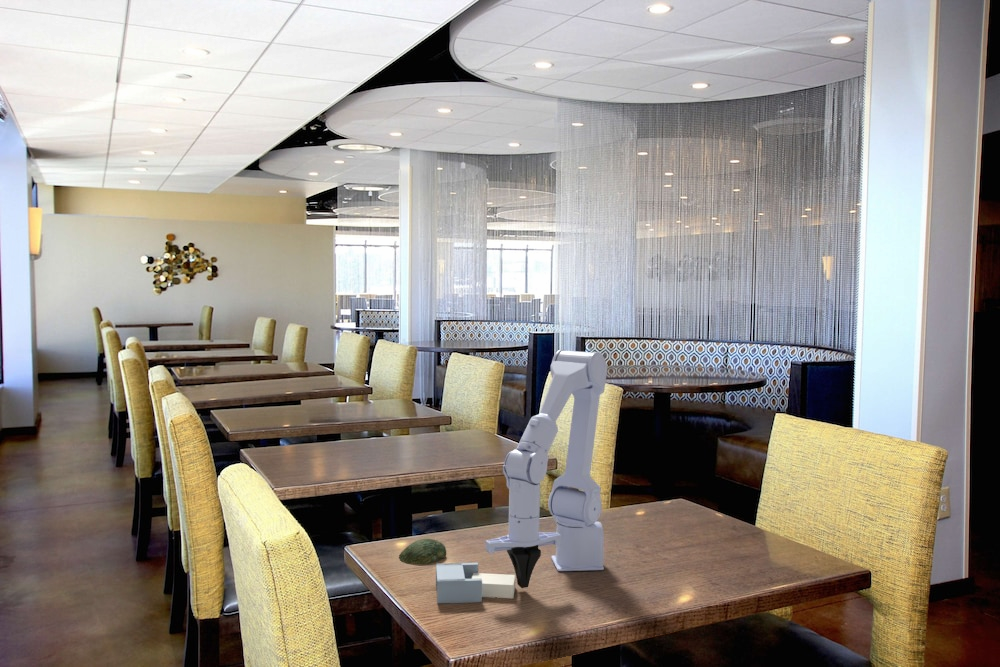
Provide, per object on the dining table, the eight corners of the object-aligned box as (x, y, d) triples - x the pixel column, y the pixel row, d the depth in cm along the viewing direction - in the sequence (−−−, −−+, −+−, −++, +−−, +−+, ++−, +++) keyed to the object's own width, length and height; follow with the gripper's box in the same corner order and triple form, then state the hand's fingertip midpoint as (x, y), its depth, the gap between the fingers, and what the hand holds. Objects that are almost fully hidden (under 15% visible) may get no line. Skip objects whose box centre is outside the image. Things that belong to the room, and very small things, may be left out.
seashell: (407, 529, 169) (451, 533, 166) (407, 546, 169) (452, 551, 167) (391, 547, 159) (438, 552, 157) (391, 566, 159) (438, 571, 157)
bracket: (477, 583, 149) (477, 562, 149) (481, 602, 140) (482, 580, 140) (435, 584, 148) (436, 563, 148) (437, 603, 139) (437, 581, 139)
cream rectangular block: (515, 588, 147) (515, 575, 147) (513, 598, 142) (513, 585, 142) (473, 586, 148) (473, 572, 147) (469, 596, 143) (470, 582, 142)
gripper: (549, 504, 151) (548, 573, 152) (480, 512, 145) (478, 583, 146) (566, 514, 144) (564, 586, 145) (494, 523, 139) (493, 597, 139)
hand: (522, 585), depth 145 cm, fingers closed
